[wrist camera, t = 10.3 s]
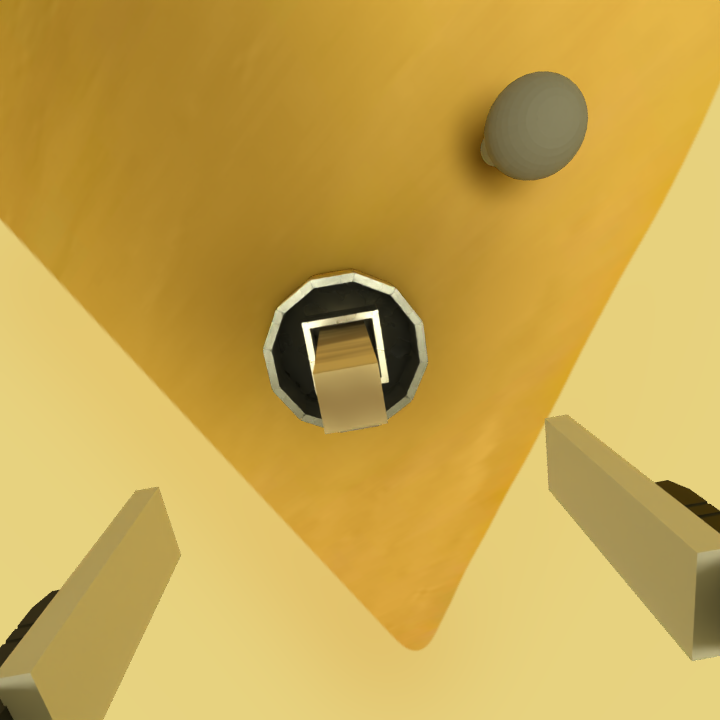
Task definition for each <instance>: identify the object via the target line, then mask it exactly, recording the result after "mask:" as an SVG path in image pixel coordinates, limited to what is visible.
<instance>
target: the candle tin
mask: <svg viewBox="0 0 720 720" xmlns="http://www.w3.org/2000/svg"><path fill="white" fill-rule="evenodd" d="M360 320H363V321H364V323H365V326H366V329H367V332H368V335H369V338H370V341H371V344H372V347H373V350H374V353H375V356H376V358H377V361H378V366H379V372H380V378H381V384H382V390H383V397H384V403H385V409H386V415H387V420H388V419H389V418H390V417H392V416H393V415H394V414H396V413H397V412H398V411H399V410H401V409H402V408H403V407H405V406H406V405H407V404H408V403H410V402H411V400H413V398H414V395H415V393H416V390H417V388H418V386H419V383H420V381H421V379H422V376H423V374H424V372H425V369H426V367H427V365H428V363H427V362H428V358H427V350H426V342H425V334H424V327H423V322H422V320H421V319H420V318H419V316H418V315H417V314H416V313H415V311H414V310H413V309H412V308H411V306H410V305H409V304H408V303H407V301H406V300H405V299H404V298H403V296H402V295H401V294H400V292H399V291H398V290H397V289H396V288H395V287H394V286H393V285H392V284H390V283H389V282H386V281H384V280H381V279H378V278H376V277H374V276H371V275H369V274H365V273H363V272H360V271H357V270H355V269H353V270H352V269H348V270H342V271H333V272H328V273H324V274H319V275H313V277H312V276H311V277H310V278H309V279H308V280H307V281H306V282H304V283H303V284H302V285H301V286H300V287H298V288H297V289H296V290H295V291H294V292H293V293H292V294H290V295H289V296H288V297H287V298H286V299H285V300H283V301H282V303H281V304H280V305H279V306H278V308H277V309H276V311H275V314H274V317H273V320H272V323H271V326H270V329H269V332H268V336H267V339H266V342H265V345H264V348H263V349H264V350H263V353H264V357H265V361H266V366H267V370H268V374H269V379H270V383H271V387H272V390H273V392H274V393H275V394H276V395H277V396H278V397H279V398H280V399H281V400H282V401H283V402H284V403H285V404H286V405H287V406H288V408H289V409H290V410H291V411H292V412H293V413H294V414H295V415H296V416H297V417H298V418H299V419H301V418H302V419H301V421H305V422H308V423H311V424H314V425H317V426H320V427H323V428H324V426H323V421H322V417H321V412H320V407H319V402H318V397H317V392H316V387H315V382H314V377H313V370H314V364H315V357H316V351H317V344H318V338H319V331H320V327H326V326H331V325H337V324H343V323H348V322H354V321H360ZM380 425H381V424H380ZM375 426H379V425H374V426H369V427H363V428H357V429H352V430H358V429H364V428H370V427H375ZM352 430H346V431H340V433H341V432H347V431H352Z"/></svg>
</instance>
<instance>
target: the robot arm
mask: <svg viewBox="0 0 720 720" xmlns="http://www.w3.org/2000/svg"><path fill="white" fill-rule="evenodd" d="M545 430H546V447H547V466H548V483H549V490H550V492H551V493H552V494H553V495H554V496H555V498H556V499H557V500H558V501H559V502H560V504H561V505H562V506H563V507H564V509H566V511H567V512H568V513H569V514H570V516H571V517H572V518H573V519H574V520H575V522H576V523H577V524H578V525H579V526H580V528H581V529H582V530H583V531H584V532H585V534H586V535H587V536H588V537H589V538H590V540H591V541H592V542H593V543H594V544H595V546H596V547H597V548H598V549H599V550H600V552H601V553H602V554H603V555H604V556H605V558H606V559H607V560H608V561H609V562H610V564H611V565H612V566H613V567H614V568H615V570H616V571H617V572H618V573H619V574H620V576H621V577H622V578H623V579H624V580H625V582H626V583H627V584H628V585H629V586H630V587H631V589H632V590H633V591H634V592H635V594H637V596H638V597H639V598H640V600H641V601H642V602H643V603H644V604H645V606H646V607H647V608H648V609H649V610H650V612H651V613H652V614H653V615H654V616H655V618H656V619H657V620H658V621H659V622H660V624H661V625H662V626H663V627H664V628H665V630H666V631H667V632H668V633H669V634H670V635H671V637H672V638H673V639H674V640H675V641H676V643H677V644H678V645H679V646H680V647H681V649H682V650H683V651H684V652H685V653H686V655H687V656H688V657H689V658H690V659H691V660H692V661H695V660H701V659H706V658H711V657H717V656H720V511H719V510H718V509H717V508H715V507H714V506H712V505H711V504H707V501H705V500H704V499H703V498H701V497H700V496H698V495H697V494H696V493H694V492H693V491H691V490H690V489H688V488H686V487H683V486H680V485H678V484H676V483H674V482H671V481H669V480H666V481H661V482H655V483H654V482H653V481H652V480H650V479H649V478H648V477H647V476H645V475H644V474H643V473H641V472H640V471H639V470H638V469H636V468H635V467H634V466H632V465H631V464H630V463H629V462H627V461H626V460H625V459H623V458H622V457H621V456H620V455H618V454H617V453H616V452H615V451H613V450H612V449H611V448H609V447H608V446H607V445H606V444H604V443H603V442H601V441H600V440H599V439H598V438H597V437H595V436H594V435H593V434H592V433H590V432H589V431H588V430H586V429H585V428H584V427H583V426H581V425H580V424H579V423H577V422H576V421H575V420H574V419H572V418H571V417H570V416H568V415H563V416H556V417H551V418H545ZM180 556H181V554H180V550H179V547H178V545H177V541H176V539H175V535H174V532H173V529H172V526H171V523H170V520H169V517H168V514H167V511H166V508H165V505H164V502H163V499H162V496H161V493H160V490H159V487H154V488H149V489H143V490H138V491H135V492H134V494H133V495H132V496H131V498H130V499H129V500H128V502H127V503H126V504H125V505H124V507H123V508H122V510H121V511H120V512H119V513H118V515H117V516H116V517H115V519H114V520H113V521H112V522H111V524H110V525H109V527H108V528H107V529H106V530H105V532H104V533H103V534H102V536H101V537H100V538H99V539H98V541H97V542H96V543H95V545H94V546H93V547H92V549H91V550H90V551H89V553H88V554H87V555H86V556H85V558H84V559H83V560H82V562H81V563H80V564H79V565H78V567H77V568H76V569H75V571H74V572H73V573H72V575H71V576H70V577H69V578H68V580H67V581H66V583H65V584H64V585H63V586H62V588H61V589H60V590H57V591H52V592H51V593H49V594H48V595H47V596H46V597H45V598H43V599H42V600H41V601H40V602H39V603H37V604H36V605H35V606H34V607H33V608H32V609H31V610H30V611H29V612H28V614H27V615H26V616H25V618H24V619H23V620H22V621H21V622H20V624H19V625H18V629H15V630H14V631H13V632H12V634H11V635H10V636H9V638H8V639H7V640H6V644H4V645H2V646H1V647H0V720H103V719H104V717H105V715H106V712H107V710H108V708H109V706H110V704H111V702H112V700H113V698H114V695H115V694H116V691H117V689H118V687H119V685H120V683H121V681H122V679H123V677H124V674H125V672H126V670H127V668H128V666H129V664H130V662H131V660H132V658H133V656H134V653H135V651H136V649H137V647H138V645H139V643H140V641H141V639H142V637H143V634H144V632H145V630H146V628H147V626H148V624H149V622H150V620H151V618H152V615H153V613H154V611H155V609H156V607H157V605H158V603H159V601H160V598H161V596H162V594H163V592H164V590H165V588H166V586H167V584H168V582H169V579H170V577H171V575H172V573H173V571H174V569H175V566H176V565H177V563H178V560H179V558H180Z"/></svg>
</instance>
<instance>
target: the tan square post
mask: <svg viewBox="0 0 720 720" xmlns="http://www.w3.org/2000/svg"><path fill="white" fill-rule="evenodd" d="M313 377H314V382H315V387H316V392H317V397H318V402H319V407H320V412H321V417H322V421H323V426H324V431H325V434H329V433H335V432H340V431H346V430H352V429H357V428H363V427H369V426H374V425H380V424H386V423H388V421H387V415H386V409H385V403H384V397H383V390H382V384H381V378H380V372H379V366H378V361H377V358H376V356H375V353H374V350H373V347H372V344H371V341H370V338H369V335H368V332H367V329H366V326H365V323H364V321H363V320H360V321H354V322H348V323H343V324H337V325H331V326H326V327H320V331H319V338H318V344H317V351H316V357H315V364H314V370H313Z"/></svg>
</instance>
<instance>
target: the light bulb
mask: <svg viewBox="0 0 720 720" xmlns="http://www.w3.org/2000/svg"><path fill="white" fill-rule="evenodd" d="M587 122H588V112H587V106H586V102H585V99H584V97H583V95H582V93H581V91H580V90H579V88H578V87H577V86H576V85H575V84H574V83H573V82H572V81H571V80H569V79H568V78H567V77H565V76H562V75H560V74H557V73H553V72H535V73H531V74H526V75H524V76H522V77H520V78H518V79H516V80H515V81H513V82H512V83H511V84H509V85H508V86H507V87H506V88H505V89H504V90H503V91H502V92H501V93H500V94H499V96H498V97H497V99H496V100H495V102H494V103H493V105H492V106H491V109H490V111H489V114H488V116H487V120H486V124H485V132H484V139H483V141H482V144H481V150H480V151H481V156H482V158H483V160H484V161H485V162H486V163H487V164H488V165H491V166H496V167H497V169H499V170H500V171H501V172H503V173H504V174H505V175H507V176H510V177H512V178H514V179H519V180H537V179H542V178H546V177H548V176H550V175H553V174H555V173H556V172H558V171H559V170H561V169H562V168H563V167H565V166H566V165H567V164H568V163H569V162H570V161H571V160H572V158H573V157H574V156H575V154H576V153H577V151H578V150H579V148H580V146H581V144H582V142H583V140H584V137H585V133H586V130H587Z"/></svg>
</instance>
